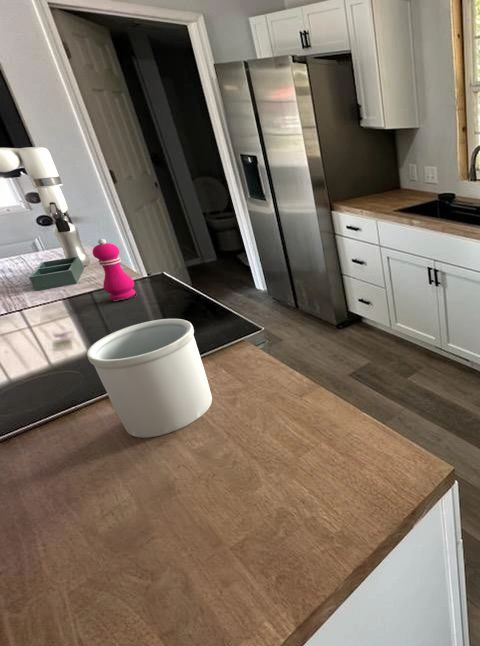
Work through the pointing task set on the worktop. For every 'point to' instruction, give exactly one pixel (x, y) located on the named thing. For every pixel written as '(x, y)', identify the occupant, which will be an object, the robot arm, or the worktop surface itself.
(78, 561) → the worktop surface
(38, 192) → the robot arm
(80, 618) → the worktop surface
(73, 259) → the divided storage box
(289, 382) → the worktop surface
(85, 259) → the silver metal bottle
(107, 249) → the pepper mill
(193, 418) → the utensil holder
